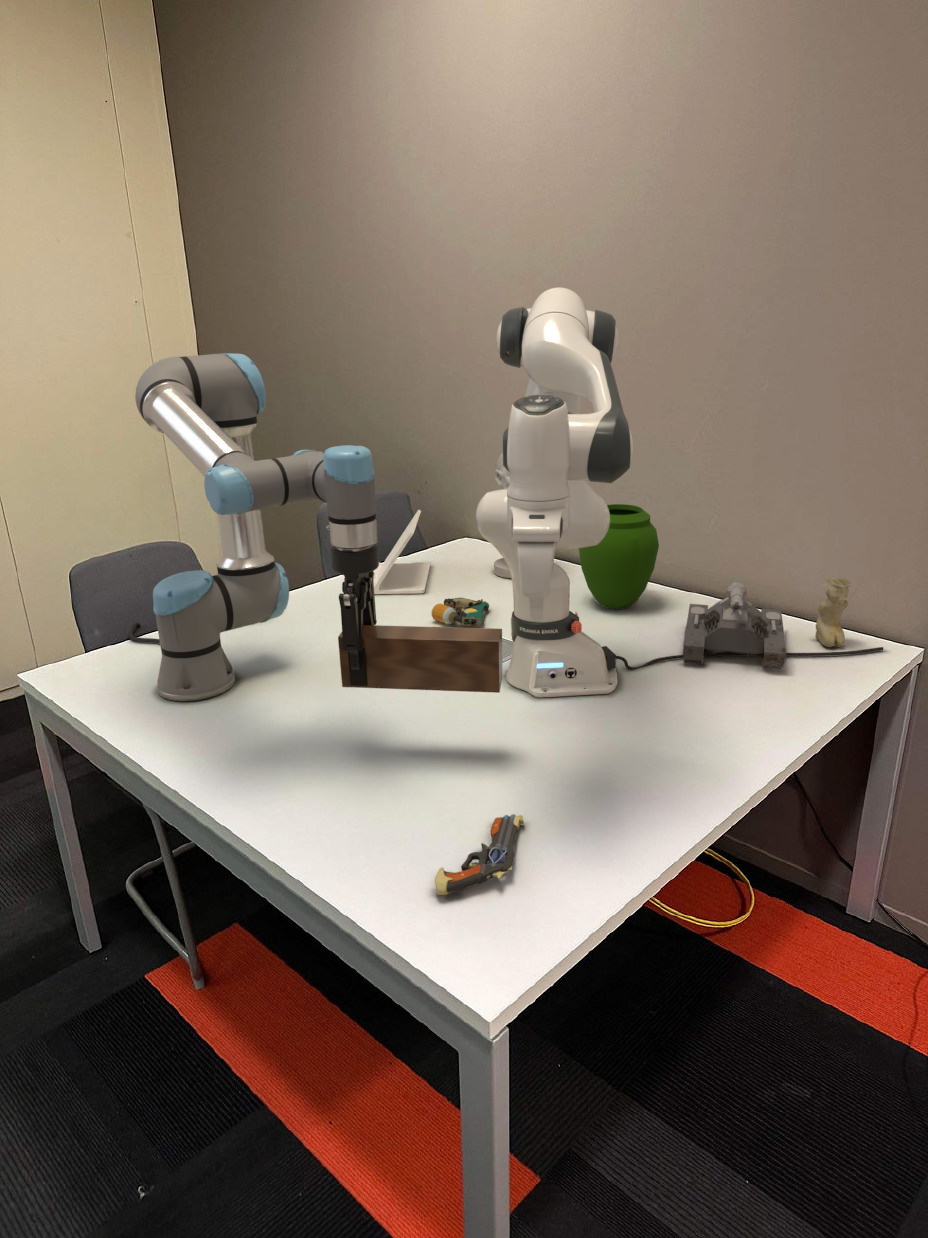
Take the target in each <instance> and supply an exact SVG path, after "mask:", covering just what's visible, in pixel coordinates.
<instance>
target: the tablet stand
mask: <svg viewBox="0 0 928 1238" xmlns="http://www.w3.org/2000/svg"><path fill="white" fill-rule="evenodd" d="M421 513H422V510H421V509H418V510H417V511H416V512H415V514H414V516H413V517H412V518H411V520H410V521H409V523H408V525H407V526H406V528H405V529H404V531H403V532H402V534H401V535H400V537H399V539H398V540H397V541H396V543H395V544H394V546H393V547H392V549H391V551H390V552H389V554H388V555H387V556H386V558H385V560H384V562H383V563H381V562H380V561H379V566H378V568H377V569H375V570H374V595H402V594H403V595H407V594H410V595H411V594H413V595H414V594H415V595H416V594H425V591H426V587H427V583H428V578H429V574H430V570H431V563H430V562H404V563H401V562H400V563H395V562H396V561H397V559H398V558H399V556H400V555H401V554H402V552H403V551H404V549H405V547H406V546H407V545H408V543H409V541H410V540H411V538H412V537H413V536H414V534H415V532H416V528H417V525H418V522H419V519H420V516H421Z"/></svg>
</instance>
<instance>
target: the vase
mask: <svg viewBox="0 0 928 1238" xmlns="http://www.w3.org/2000/svg"><path fill="white" fill-rule="evenodd" d="M607 507H608V509H609V513H610V525H609V529H608V532H607V534H606V536H605V537H604V539H603V540H602V541H601V542H600V543H599V544H598V545H596V546H590V547H583V548H578V554H579V562H580V569H581V571H582V574H583V577H584V580H585V583H586V585H587V588H588V590H589V591H590V594H592V597H593V598H594V600H595V601H596V602H597V603H598V604H599V605H600V606H602V607H604V608H606V609H609V610H625V609H628V608H630V607H632V606H634V604H636V602H638V601H639V599H640V597H641V596H642V595H643V593H644V592H645V590H646V588H647V586H648V584H649V581H650V579H651V577H652V574H653V572H654V570H655V566H656V562H657V557H658V552H659V548H660V544H659V543H660V542H659V537H658V531H657V528H656V527H655V526H654V524H653V523H652V522H651V515H650V514H649V512H647V511H645V510H644V509H643V508H642V507H641V506H638V505H633V504H622V503H621V504H619V503H616V504H615V503H614V504H607Z"/></svg>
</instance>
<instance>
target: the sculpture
mask: <svg viewBox="0 0 928 1238" xmlns="http://www.w3.org/2000/svg"><path fill="white" fill-rule="evenodd" d="M826 581H827V586H826V588H825V590H824V593H825V595H826V596H827V598H826V600H824V601H822V602H821V603H820V604H819V605H818V606H817V609H816V610H817V612H818V614H819V616H818V617H817V619H816V623H815V630H816V631H815V634H814V635H815V639H817V640H819V642H820V643H821V644H822V645H823V646H825V647H827V648H832V647H834V646H835V647H843V646H844V645H845V643H846V642H845V641H846V636H845V632H844V630H843V626H842V624H841V622H840V621H841V617H842V615H843V612H844V610H845V609H846V608H847V606H848V604H849V603H848V602H849V601H847V598H848V597H849V592H850V586H851V585H852V582H850V580H848V579H847V578H845V577H841V576H840V577H835V578H831V577H827V578H826Z"/></svg>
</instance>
